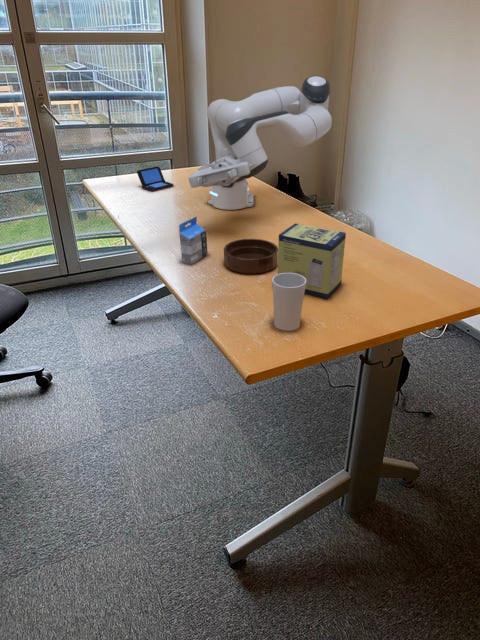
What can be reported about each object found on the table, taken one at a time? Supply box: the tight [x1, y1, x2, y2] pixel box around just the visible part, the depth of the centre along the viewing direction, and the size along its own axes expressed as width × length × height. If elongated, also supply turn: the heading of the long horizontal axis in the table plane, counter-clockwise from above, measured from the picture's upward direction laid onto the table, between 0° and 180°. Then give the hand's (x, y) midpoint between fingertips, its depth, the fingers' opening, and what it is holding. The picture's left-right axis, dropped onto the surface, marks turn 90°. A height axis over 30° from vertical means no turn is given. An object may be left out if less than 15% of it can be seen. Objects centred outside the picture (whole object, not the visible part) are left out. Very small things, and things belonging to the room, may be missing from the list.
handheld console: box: [136, 165, 174, 192], centre depth 225 cm, size 12×11×7 cm
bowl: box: [223, 238, 278, 275], centre depth 153 cm, size 16×16×5 cm
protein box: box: [277, 222, 347, 300], centre depth 138 cm, size 10×16×16 cm
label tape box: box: [178, 216, 209, 265], centre depth 155 cm, size 9×4×12 cm, turn 148°
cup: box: [271, 273, 306, 331], centre depth 121 cm, size 8×8×12 cm
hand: (214, 178), depth 157 cm, fingers open, 8 cm apart
